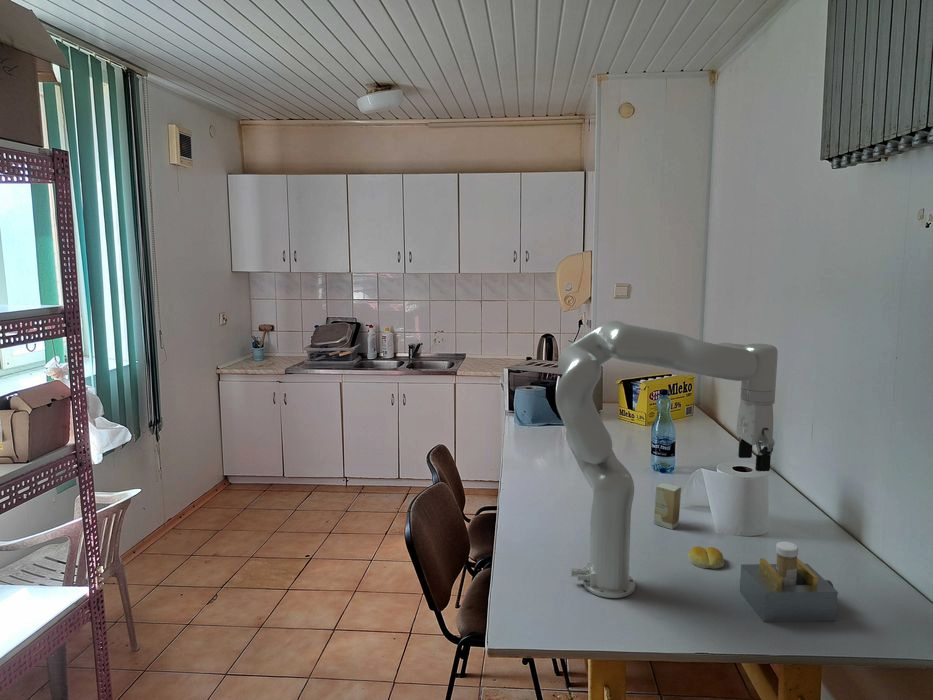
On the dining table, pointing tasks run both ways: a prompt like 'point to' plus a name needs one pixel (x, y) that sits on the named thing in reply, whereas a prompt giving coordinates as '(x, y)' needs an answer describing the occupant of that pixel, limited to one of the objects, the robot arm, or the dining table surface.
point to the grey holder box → (788, 594)
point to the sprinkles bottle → (787, 562)
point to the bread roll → (706, 557)
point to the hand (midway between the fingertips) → (753, 464)
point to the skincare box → (667, 505)
